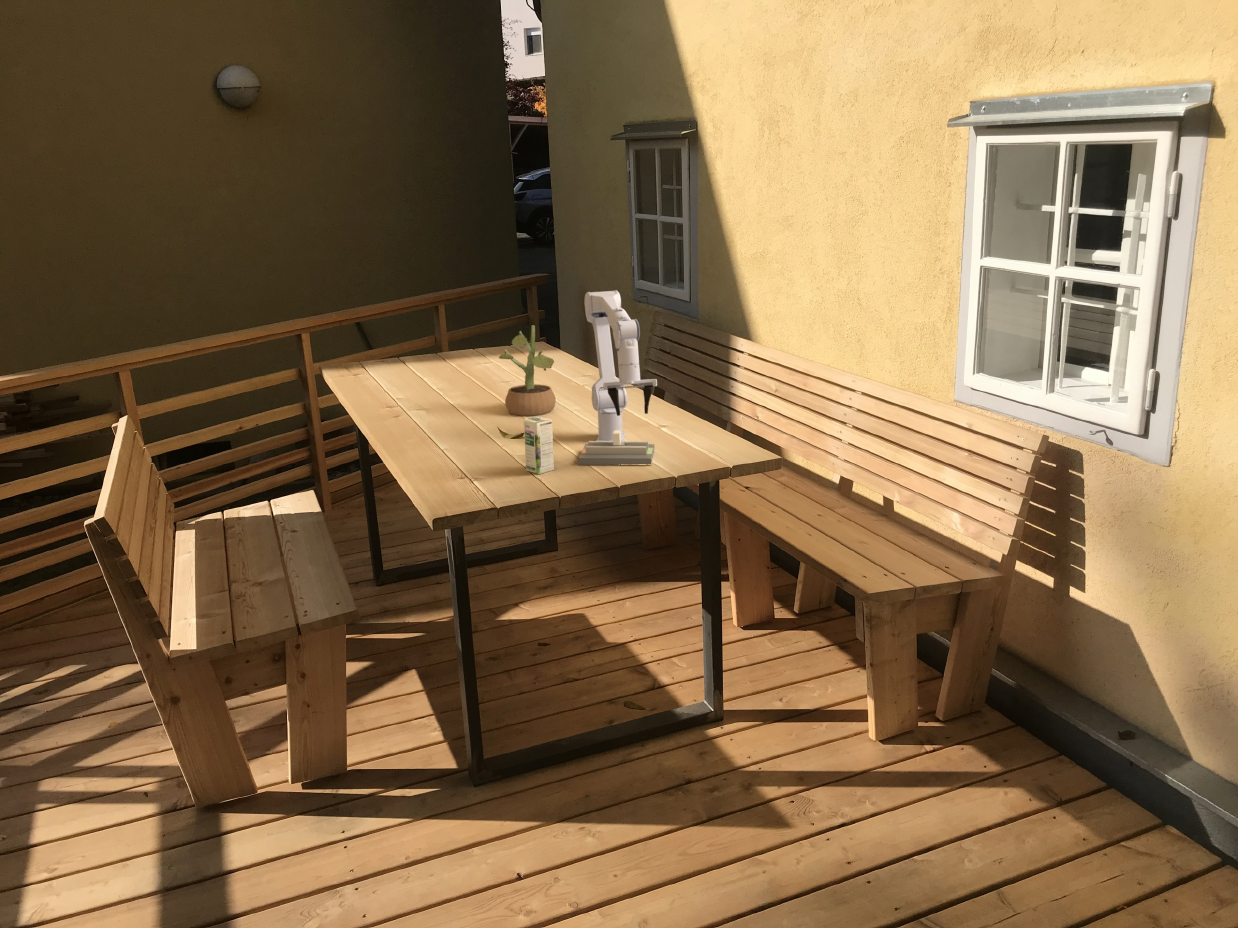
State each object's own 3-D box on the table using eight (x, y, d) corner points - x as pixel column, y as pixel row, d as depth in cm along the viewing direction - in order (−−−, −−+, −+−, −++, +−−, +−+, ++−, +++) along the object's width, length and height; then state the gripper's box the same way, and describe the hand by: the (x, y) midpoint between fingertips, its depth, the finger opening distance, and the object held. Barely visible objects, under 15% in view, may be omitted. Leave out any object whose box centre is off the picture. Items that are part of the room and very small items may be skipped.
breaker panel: (585, 450, 286) (585, 437, 285) (654, 450, 284) (654, 437, 282) (579, 465, 272) (578, 451, 271) (651, 465, 270) (650, 451, 269)
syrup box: (525, 470, 269) (522, 419, 264) (541, 465, 273) (539, 415, 268) (538, 474, 265) (535, 422, 261) (555, 469, 269) (552, 418, 264)
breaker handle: (610, 448, 279) (610, 430, 278) (624, 448, 279) (624, 430, 277) (609, 452, 276) (609, 433, 274) (623, 452, 276) (623, 433, 274)
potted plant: (496, 408, 337) (491, 321, 328) (547, 402, 343) (542, 317, 334) (515, 424, 317) (510, 331, 308) (568, 417, 323) (564, 326, 314)
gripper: (600, 367, 265) (604, 417, 267) (654, 363, 264) (657, 413, 265) (603, 366, 272) (607, 415, 274) (656, 362, 271) (659, 411, 272)
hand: (632, 414), depth 270 cm, fingers open, 7 cm apart
